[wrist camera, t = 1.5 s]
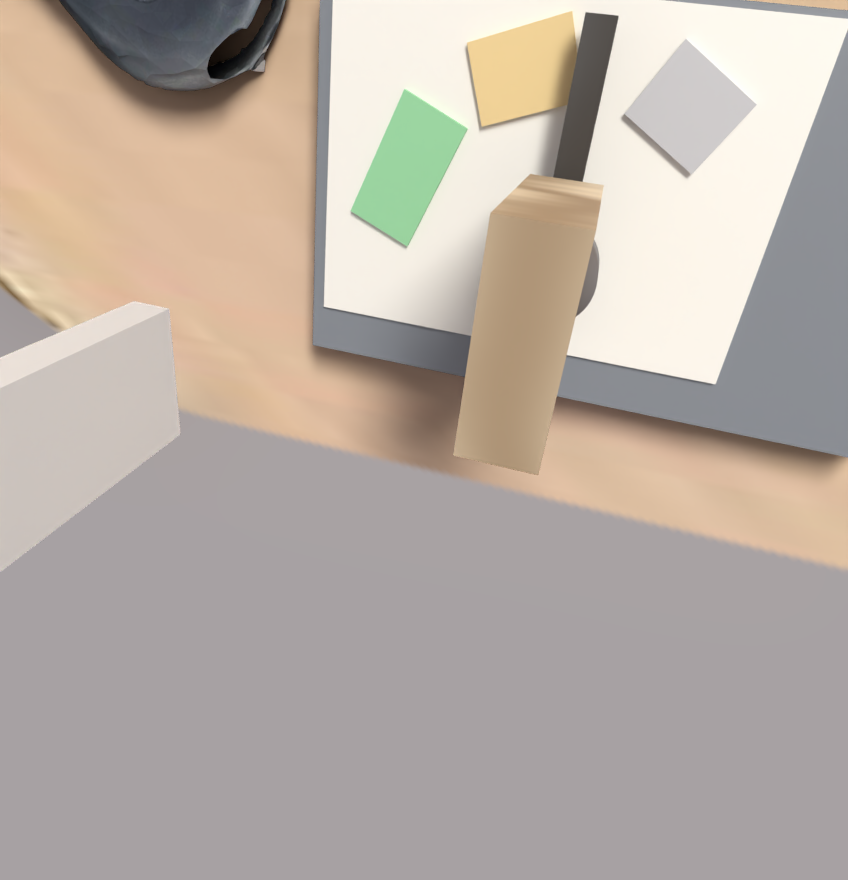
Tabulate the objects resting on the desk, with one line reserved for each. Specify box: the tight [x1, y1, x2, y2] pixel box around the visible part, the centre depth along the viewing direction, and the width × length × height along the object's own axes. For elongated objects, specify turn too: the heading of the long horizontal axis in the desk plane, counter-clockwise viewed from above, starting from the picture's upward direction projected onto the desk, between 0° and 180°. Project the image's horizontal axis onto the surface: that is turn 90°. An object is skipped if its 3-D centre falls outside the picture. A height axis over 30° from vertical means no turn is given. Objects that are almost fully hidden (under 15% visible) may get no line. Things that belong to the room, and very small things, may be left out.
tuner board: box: [313, 0, 848, 457], centre depth 22 cm, size 22×13×2 cm, turn 84°
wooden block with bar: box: [453, 12, 619, 475], centre depth 18 cm, size 3×10×9 cm, turn 174°
